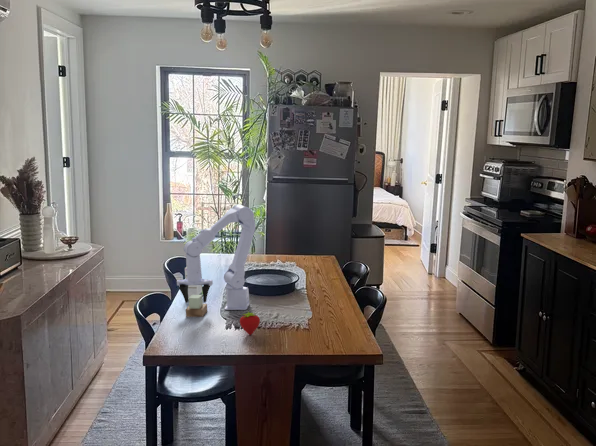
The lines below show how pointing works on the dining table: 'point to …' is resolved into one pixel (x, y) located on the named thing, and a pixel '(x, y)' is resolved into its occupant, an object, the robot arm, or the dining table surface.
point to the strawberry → (249, 322)
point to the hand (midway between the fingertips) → (195, 301)
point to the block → (196, 311)
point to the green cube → (195, 301)
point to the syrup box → (193, 287)
